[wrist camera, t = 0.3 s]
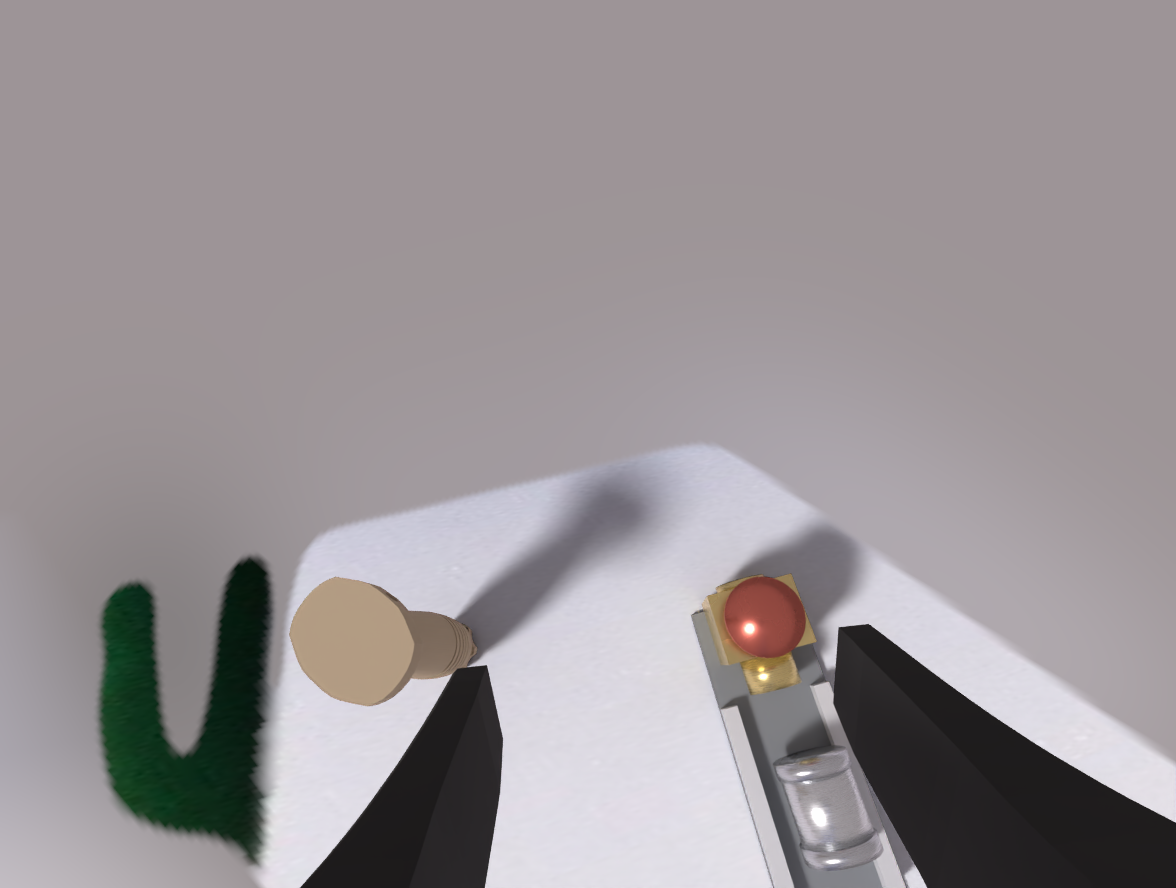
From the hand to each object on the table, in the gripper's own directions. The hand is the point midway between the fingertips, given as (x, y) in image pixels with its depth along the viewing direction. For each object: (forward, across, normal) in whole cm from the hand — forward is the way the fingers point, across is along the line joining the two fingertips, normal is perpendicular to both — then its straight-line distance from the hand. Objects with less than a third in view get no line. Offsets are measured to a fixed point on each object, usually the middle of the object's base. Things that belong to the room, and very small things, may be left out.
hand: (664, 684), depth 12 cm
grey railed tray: (+16, -9, +24) cm, 31 cm away
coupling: (+15, -10, +25) cm, 31 cm away
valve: (+22, -8, +18) cm, 30 cm away
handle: (+24, +12, +19) cm, 33 cm away
